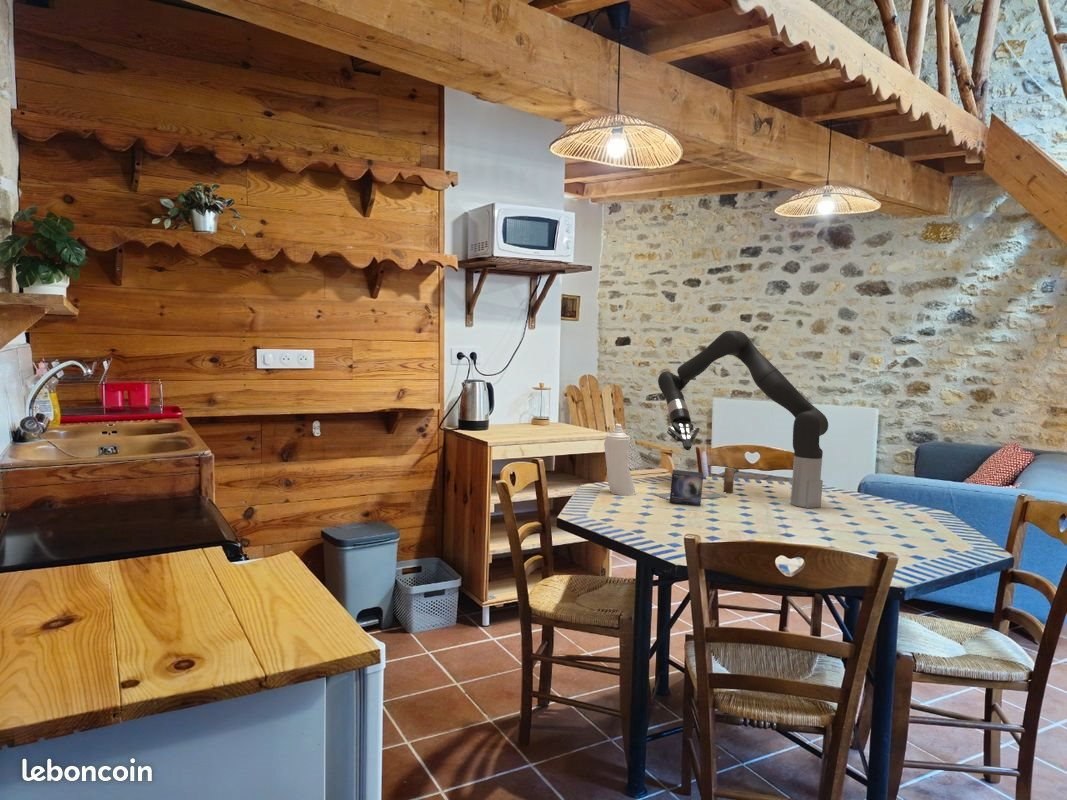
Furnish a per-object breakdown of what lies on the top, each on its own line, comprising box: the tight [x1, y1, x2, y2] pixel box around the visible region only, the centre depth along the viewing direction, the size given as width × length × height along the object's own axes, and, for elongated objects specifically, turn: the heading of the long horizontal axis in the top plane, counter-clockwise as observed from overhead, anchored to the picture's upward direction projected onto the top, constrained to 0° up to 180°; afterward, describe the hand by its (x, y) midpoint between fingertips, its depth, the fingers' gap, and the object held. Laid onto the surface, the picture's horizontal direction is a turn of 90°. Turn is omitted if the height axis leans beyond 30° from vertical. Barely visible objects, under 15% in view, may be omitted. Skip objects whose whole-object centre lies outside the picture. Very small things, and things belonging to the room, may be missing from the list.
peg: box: [722, 467, 735, 494], centre depth 262 cm, size 3×3×9 cm
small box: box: [669, 469, 704, 507], centre depth 241 cm, size 11×6×10 cm, turn 77°
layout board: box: [653, 490, 728, 502], centre depth 253 cm, size 10×25×1 cm, turn 113°
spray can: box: [603, 423, 637, 497], centre depth 253 cm, size 12×11×25 cm
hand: (688, 448), depth 262 cm, fingers closed
